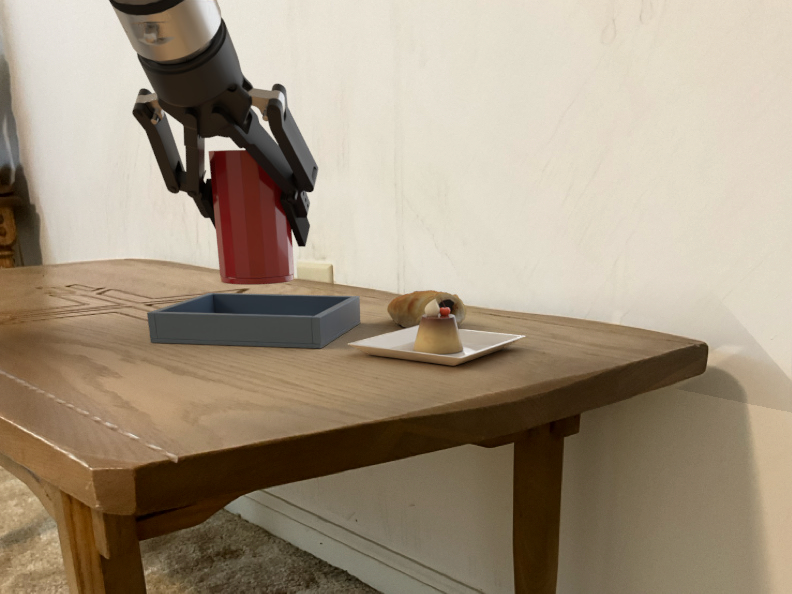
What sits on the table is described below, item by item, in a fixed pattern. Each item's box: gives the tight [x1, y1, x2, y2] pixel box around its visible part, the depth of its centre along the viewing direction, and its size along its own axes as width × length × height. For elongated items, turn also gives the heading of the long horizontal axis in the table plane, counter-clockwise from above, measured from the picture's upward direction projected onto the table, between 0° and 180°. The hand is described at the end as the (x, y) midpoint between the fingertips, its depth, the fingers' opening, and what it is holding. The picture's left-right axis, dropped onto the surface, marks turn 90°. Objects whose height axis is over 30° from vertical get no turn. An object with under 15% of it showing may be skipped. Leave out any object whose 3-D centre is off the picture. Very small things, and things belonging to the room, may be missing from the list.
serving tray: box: [146, 292, 361, 349], centre depth 88 cm, size 18×15×3 cm
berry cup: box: [208, 149, 295, 286], centre depth 84 cm, size 7×7×12 cm
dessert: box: [347, 299, 526, 367], centre depth 77 cm, size 12×12×5 cm
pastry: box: [386, 289, 467, 329], centre depth 92 cm, size 9×7×4 cm
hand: (266, 235), depth 88 cm, fingers closed on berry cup, 7 cm apart
